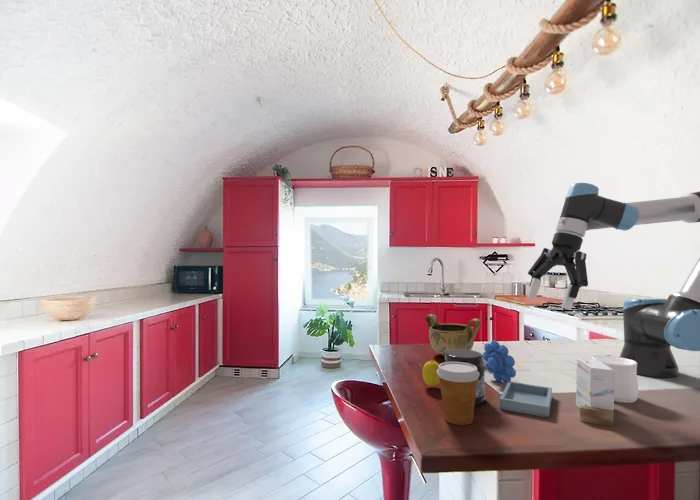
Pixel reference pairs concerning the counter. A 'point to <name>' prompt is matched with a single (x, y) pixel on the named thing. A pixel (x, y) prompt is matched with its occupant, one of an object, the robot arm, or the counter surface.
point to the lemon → (431, 373)
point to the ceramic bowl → (451, 335)
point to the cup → (622, 377)
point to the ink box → (594, 385)
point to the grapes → (499, 362)
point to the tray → (527, 399)
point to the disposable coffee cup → (458, 391)
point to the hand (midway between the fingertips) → (547, 303)
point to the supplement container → (475, 360)
